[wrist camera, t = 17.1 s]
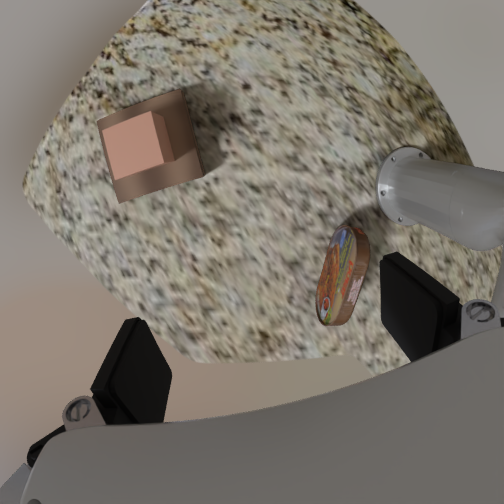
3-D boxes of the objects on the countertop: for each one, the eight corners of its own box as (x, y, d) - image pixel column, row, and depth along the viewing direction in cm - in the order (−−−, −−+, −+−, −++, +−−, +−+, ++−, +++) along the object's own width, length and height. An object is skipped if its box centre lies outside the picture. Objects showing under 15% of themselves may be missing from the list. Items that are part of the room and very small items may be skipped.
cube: (163, 116, 32) (150, 110, 26) (175, 160, 34) (164, 162, 28) (121, 132, 32) (102, 130, 26) (132, 175, 34) (115, 180, 28)
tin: (335, 218, 41) (358, 234, 33) (354, 222, 41) (379, 238, 33) (310, 307, 46) (324, 337, 38) (327, 308, 46) (344, 338, 38)
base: (184, 93, 33) (180, 88, 31) (205, 174, 38) (203, 176, 35) (105, 122, 34) (96, 121, 31) (126, 199, 38) (118, 203, 35)
